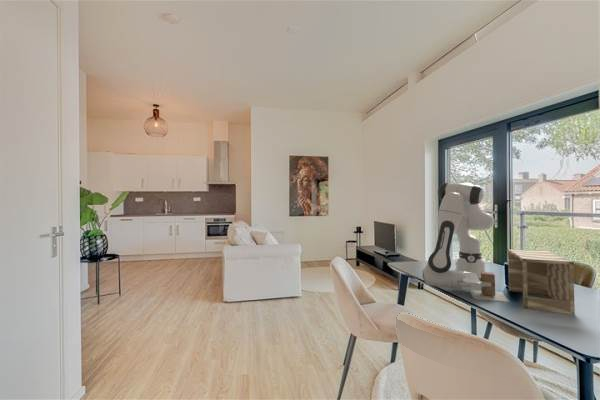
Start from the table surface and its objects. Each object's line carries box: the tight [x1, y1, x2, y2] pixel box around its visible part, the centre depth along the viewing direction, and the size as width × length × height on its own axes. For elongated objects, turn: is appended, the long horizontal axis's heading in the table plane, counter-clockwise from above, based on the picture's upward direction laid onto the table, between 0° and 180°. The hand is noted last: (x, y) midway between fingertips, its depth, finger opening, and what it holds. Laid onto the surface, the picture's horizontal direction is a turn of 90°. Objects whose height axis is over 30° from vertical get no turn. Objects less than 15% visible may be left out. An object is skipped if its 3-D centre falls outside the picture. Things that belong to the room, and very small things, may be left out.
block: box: [481, 271, 496, 296], centre depth 135 cm, size 5×5×10 cm
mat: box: [469, 289, 510, 303], centre depth 135 cm, size 14×14×1 cm
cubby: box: [507, 248, 576, 315], centre depth 127 cm, size 26×16×21 cm, turn 154°
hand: (489, 282), depth 135 cm, fingers closed on block, 5 cm apart
